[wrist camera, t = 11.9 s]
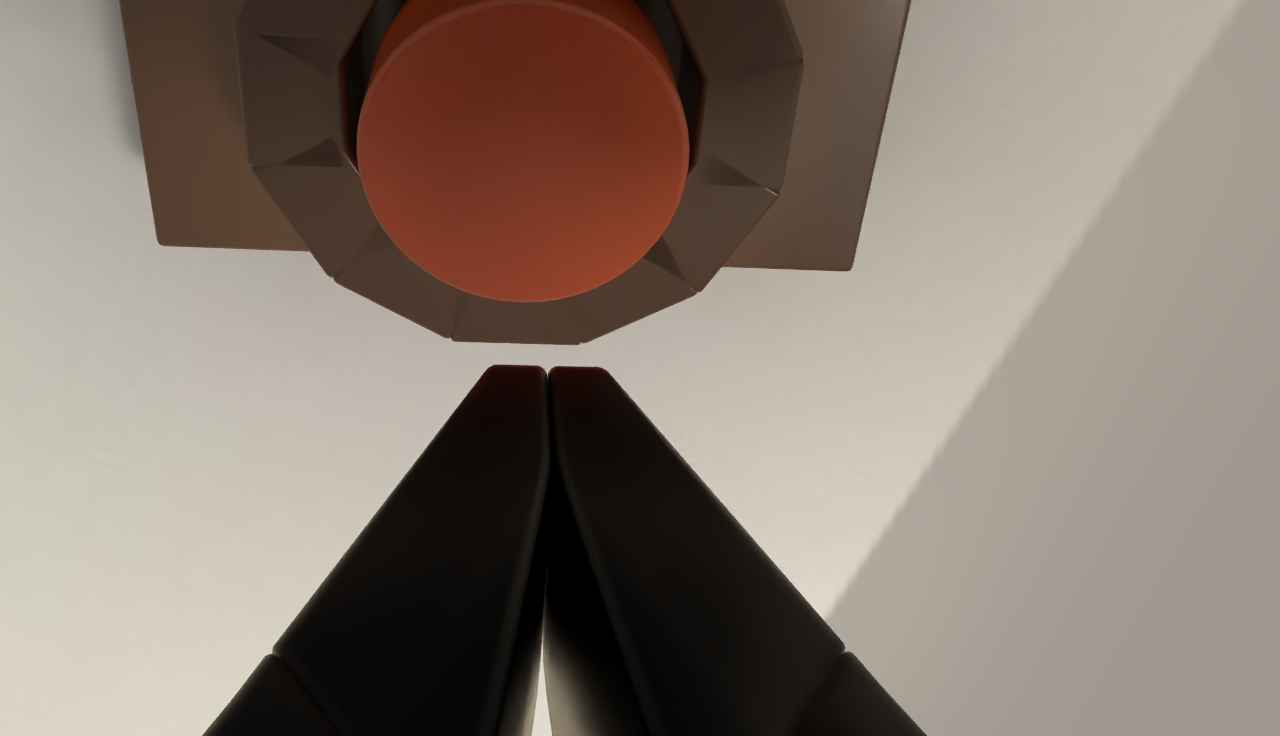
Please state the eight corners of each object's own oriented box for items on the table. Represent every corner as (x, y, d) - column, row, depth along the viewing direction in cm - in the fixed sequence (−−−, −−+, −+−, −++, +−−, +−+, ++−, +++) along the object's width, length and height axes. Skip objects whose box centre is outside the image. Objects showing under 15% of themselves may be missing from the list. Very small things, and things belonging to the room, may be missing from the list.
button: (689, -41, 13) (710, 9, 12) (658, 239, 15) (671, 309, 14) (366, -63, 13) (347, -15, 12) (377, 228, 15) (362, 300, 14)
